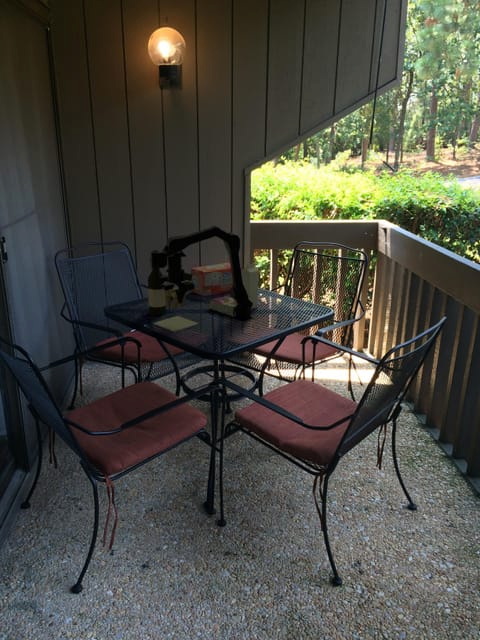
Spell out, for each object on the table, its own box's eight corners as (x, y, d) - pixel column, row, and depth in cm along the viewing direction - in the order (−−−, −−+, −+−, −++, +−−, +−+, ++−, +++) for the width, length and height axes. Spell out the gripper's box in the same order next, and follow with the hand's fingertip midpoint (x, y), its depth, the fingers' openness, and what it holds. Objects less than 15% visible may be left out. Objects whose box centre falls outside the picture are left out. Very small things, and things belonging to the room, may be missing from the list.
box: (227, 284, 285) (227, 261, 280) (242, 289, 276) (242, 265, 271) (189, 292, 268) (189, 267, 263) (204, 297, 259) (204, 272, 254)
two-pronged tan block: (185, 306, 216) (185, 290, 214) (175, 309, 212) (174, 293, 209) (176, 303, 220) (176, 288, 217) (166, 306, 216) (165, 290, 213)
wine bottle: (162, 316, 228) (160, 252, 218) (145, 315, 230) (143, 251, 220) (168, 311, 236) (167, 248, 226) (152, 309, 237) (150, 247, 227)
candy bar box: (225, 295, 246) (250, 302, 236) (225, 304, 248) (249, 312, 237) (209, 299, 238) (233, 307, 228) (209, 309, 240) (233, 317, 230)
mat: (198, 324, 219) (198, 323, 219) (174, 332, 209) (174, 331, 209) (177, 317, 228) (177, 315, 228) (153, 324, 218) (153, 322, 218)
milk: (257, 307, 244) (259, 264, 237) (248, 310, 240) (250, 265, 233) (248, 304, 248) (250, 261, 241) (240, 307, 244) (241, 263, 237)
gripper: (203, 267, 210) (204, 303, 215) (175, 260, 222) (175, 294, 227) (184, 272, 202) (184, 308, 207) (155, 264, 214) (156, 299, 219)
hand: (175, 302), depth 215 cm, fingers closed on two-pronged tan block, 6 cm apart
